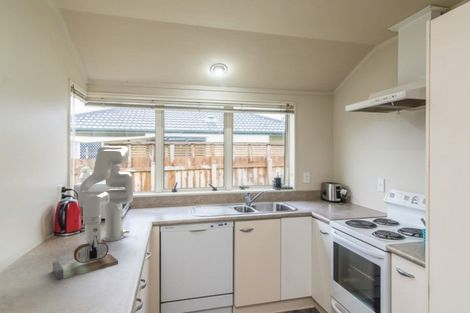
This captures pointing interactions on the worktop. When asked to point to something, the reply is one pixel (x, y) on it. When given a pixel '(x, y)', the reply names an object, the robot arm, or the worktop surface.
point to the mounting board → (87, 266)
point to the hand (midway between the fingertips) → (92, 257)
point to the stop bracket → (58, 270)
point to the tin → (83, 252)
